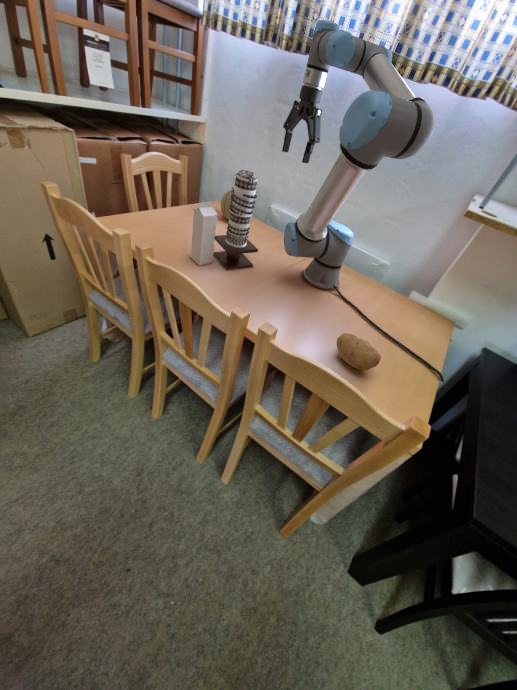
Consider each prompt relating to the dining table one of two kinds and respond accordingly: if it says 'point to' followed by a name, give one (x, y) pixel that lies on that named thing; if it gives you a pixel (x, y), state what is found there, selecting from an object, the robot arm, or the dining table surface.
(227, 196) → the cantaloupe
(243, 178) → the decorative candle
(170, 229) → the dining table surface
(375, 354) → the potato
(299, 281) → the dining table surface
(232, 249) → the stand
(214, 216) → the milk
